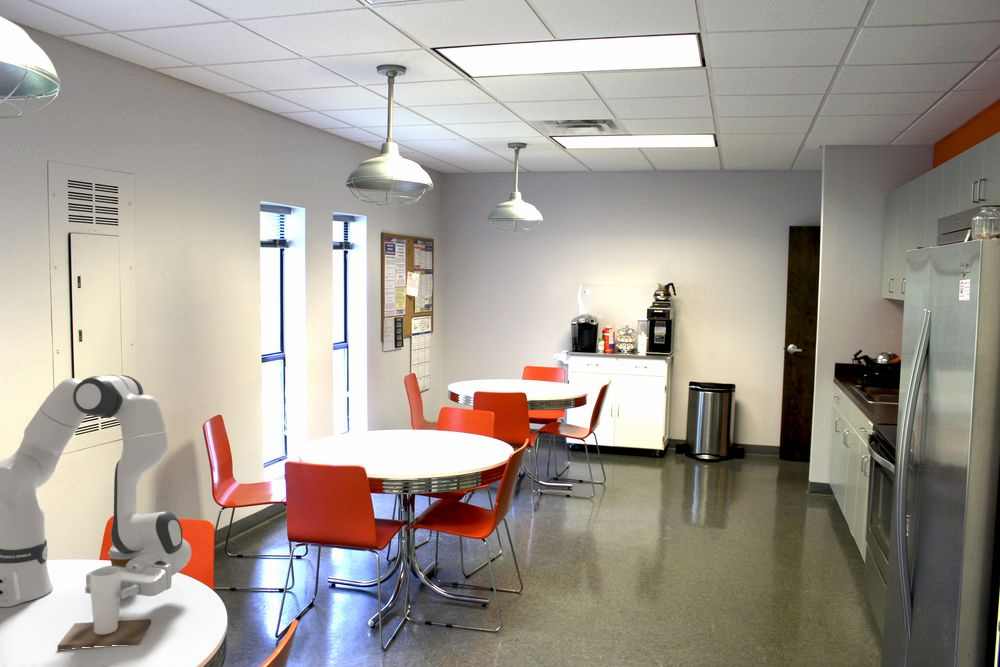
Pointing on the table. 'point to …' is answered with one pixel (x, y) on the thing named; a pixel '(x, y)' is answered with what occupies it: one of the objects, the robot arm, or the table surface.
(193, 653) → the table surface
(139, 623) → the walnut board
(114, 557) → the disposable coffee cup
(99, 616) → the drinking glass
